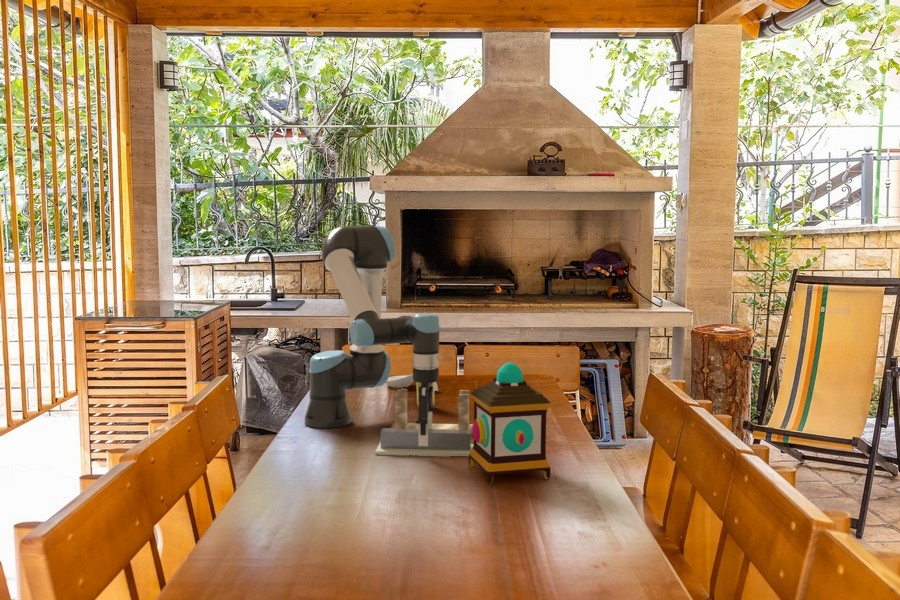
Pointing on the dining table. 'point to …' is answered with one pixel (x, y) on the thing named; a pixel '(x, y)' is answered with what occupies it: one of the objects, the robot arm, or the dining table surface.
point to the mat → (421, 452)
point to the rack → (402, 424)
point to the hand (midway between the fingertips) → (425, 439)
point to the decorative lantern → (509, 426)
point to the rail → (436, 439)
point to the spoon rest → (403, 381)
